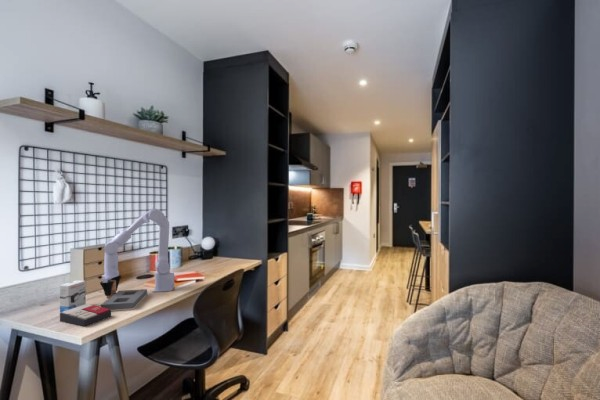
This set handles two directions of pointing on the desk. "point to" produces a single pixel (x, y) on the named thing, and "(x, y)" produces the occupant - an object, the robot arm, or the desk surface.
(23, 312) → the desk surface
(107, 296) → the peg
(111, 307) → the board
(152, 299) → the desk surface
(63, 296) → the ink box
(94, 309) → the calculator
